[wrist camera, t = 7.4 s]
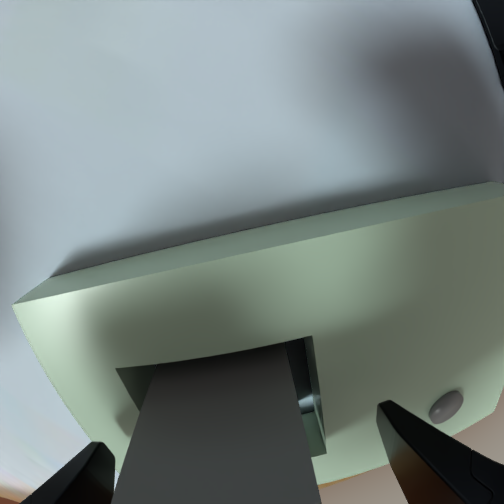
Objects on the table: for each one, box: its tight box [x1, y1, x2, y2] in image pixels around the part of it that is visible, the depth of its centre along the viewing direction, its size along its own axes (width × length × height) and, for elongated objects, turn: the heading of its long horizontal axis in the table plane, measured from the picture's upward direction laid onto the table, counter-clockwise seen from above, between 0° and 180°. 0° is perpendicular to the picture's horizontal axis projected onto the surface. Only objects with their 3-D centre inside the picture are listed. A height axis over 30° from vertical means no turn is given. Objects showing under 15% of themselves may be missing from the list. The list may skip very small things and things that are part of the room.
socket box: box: [12, 181, 504, 485], centre depth 10 cm, size 18×11×3 cm, turn 102°
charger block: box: [111, 342, 322, 504], centre depth 8 cm, size 4×4×7 cm
